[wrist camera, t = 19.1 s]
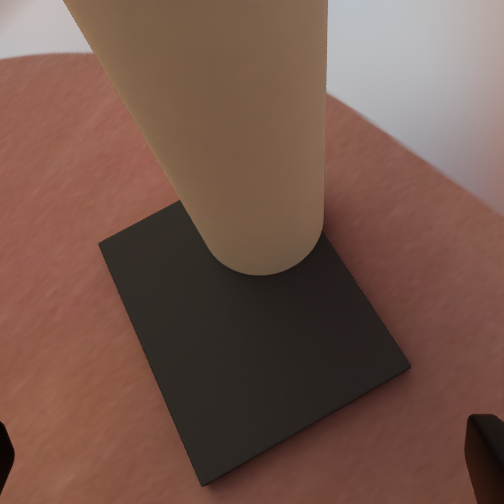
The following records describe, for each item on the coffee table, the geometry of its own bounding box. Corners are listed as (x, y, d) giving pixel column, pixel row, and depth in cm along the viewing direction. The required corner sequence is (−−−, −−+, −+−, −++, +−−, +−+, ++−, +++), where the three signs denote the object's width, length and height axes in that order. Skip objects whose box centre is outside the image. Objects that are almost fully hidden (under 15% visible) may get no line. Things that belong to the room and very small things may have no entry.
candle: (276, 300, 17) (180, -10, 5) (178, 234, 19) (-71, -121, 7) (347, 200, 18) (400, -244, 6) (248, 146, 20) (141, -296, 8)
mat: (409, 368, 16) (412, 366, 16) (205, 485, 16) (201, 487, 15) (271, 159, 20) (270, 151, 20) (103, 248, 20) (97, 243, 19)
